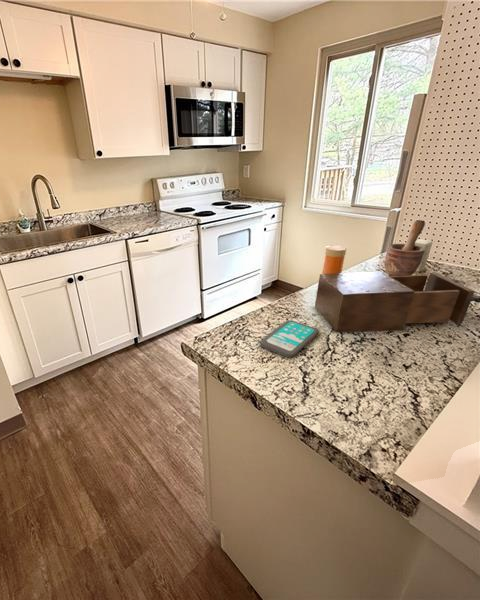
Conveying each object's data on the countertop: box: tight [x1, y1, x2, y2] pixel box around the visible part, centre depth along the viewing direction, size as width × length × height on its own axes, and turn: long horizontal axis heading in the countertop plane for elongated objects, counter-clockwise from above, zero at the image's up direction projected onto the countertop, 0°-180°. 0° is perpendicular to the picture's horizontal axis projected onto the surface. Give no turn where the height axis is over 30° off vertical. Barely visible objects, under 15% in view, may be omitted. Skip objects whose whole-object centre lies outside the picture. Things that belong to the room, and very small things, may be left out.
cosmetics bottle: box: [415, 238, 434, 273], centre depth 107 cm, size 5×4×10 cm
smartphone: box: [260, 319, 319, 358], centre depth 77 cm, size 9×1×15 cm
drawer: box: [388, 271, 480, 325], centre depth 79 cm, size 19×12×9 cm, turn 84°
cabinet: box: [314, 270, 415, 333], centre depth 81 cm, size 16×14×11 cm
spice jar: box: [321, 245, 347, 274], centre depth 95 cm, size 5×5×15 cm
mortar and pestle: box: [384, 219, 426, 276], centre depth 94 cm, size 12×9×20 cm
